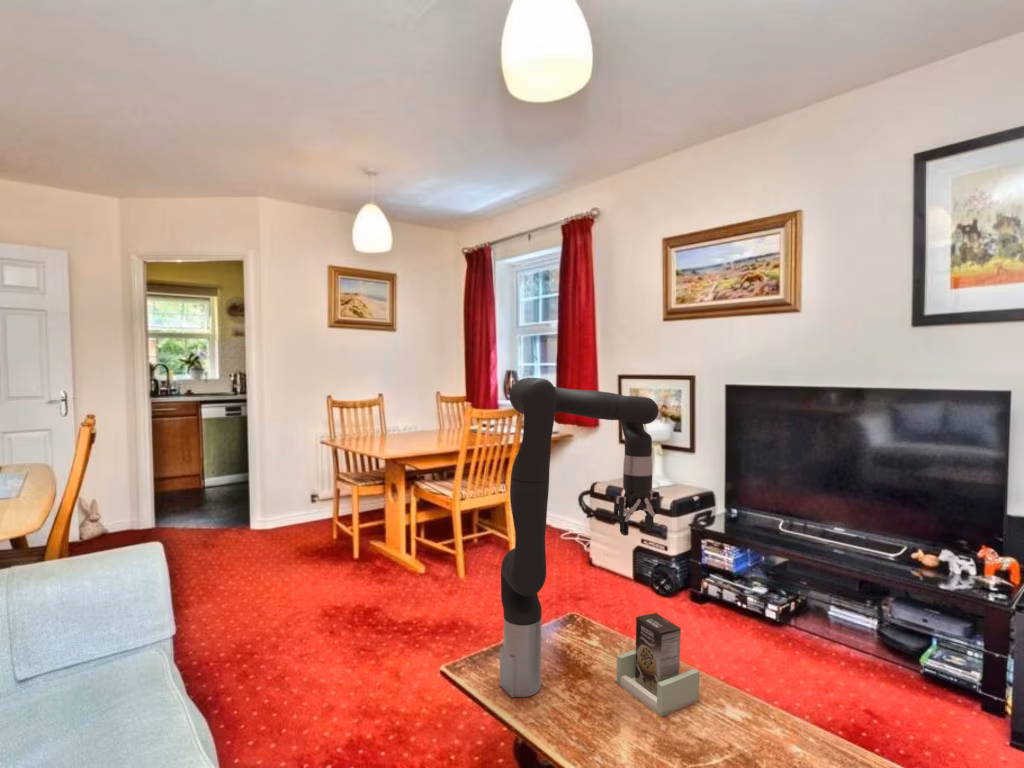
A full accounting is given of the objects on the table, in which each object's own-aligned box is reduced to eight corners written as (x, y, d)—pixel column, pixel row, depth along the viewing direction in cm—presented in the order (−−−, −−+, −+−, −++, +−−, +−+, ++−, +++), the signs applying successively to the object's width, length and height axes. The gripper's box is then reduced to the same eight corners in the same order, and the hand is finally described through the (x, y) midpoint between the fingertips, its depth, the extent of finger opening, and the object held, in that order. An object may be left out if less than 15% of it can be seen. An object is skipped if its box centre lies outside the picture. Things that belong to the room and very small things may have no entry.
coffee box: (633, 681, 136) (634, 616, 135) (654, 674, 139) (655, 611, 138) (658, 701, 128) (659, 632, 127) (680, 694, 130) (681, 627, 130)
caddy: (661, 717, 124) (662, 686, 123) (616, 683, 136) (617, 655, 136) (698, 700, 130) (699, 671, 129) (652, 670, 143) (652, 643, 142)
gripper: (627, 477, 140) (626, 540, 140) (667, 471, 147) (666, 532, 147) (607, 471, 146) (606, 532, 147) (647, 467, 153) (646, 525, 154)
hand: (636, 532), depth 147 cm, fingers open, 8 cm apart
